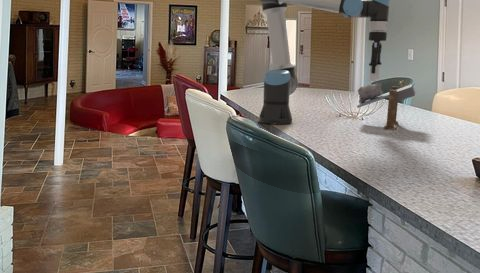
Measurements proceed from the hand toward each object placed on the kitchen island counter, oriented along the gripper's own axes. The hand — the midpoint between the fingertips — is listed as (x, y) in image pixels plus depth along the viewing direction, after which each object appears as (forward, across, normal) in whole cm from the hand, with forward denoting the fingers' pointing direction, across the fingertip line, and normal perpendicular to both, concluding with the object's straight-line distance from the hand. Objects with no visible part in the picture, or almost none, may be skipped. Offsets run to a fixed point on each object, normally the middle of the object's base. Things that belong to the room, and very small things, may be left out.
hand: (374, 80), depth 210 cm
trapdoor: (+10, 0, -7) cm, 12 cm away
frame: (+20, 0, -9) cm, 22 cm away
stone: (+9, 0, 0) cm, 9 cm away
